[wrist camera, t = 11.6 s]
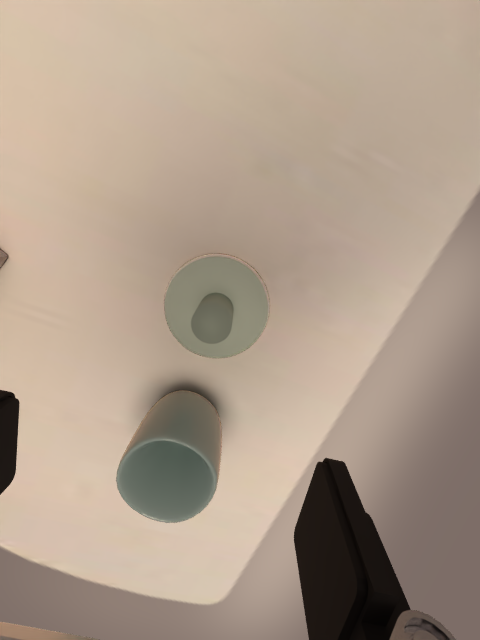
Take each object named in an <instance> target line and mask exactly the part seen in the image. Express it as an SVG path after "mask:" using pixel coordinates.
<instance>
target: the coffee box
mask: <svg viewBox="0 0 480 640" xmlns="http://www.w3.org/2000/svg"><path fill="white" fill-rule="evenodd" d="M6 259H7V255H6V254H5V253H4V252H3V251H2V250H0V268H1V266H2V265H3V263H4V262H5V260H6Z"/></svg>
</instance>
